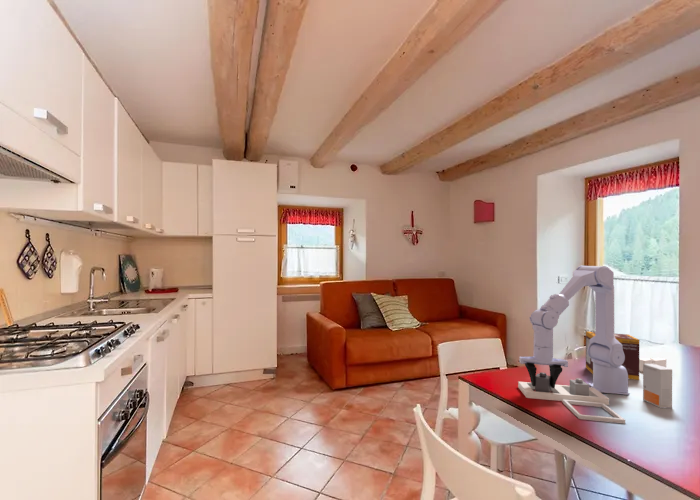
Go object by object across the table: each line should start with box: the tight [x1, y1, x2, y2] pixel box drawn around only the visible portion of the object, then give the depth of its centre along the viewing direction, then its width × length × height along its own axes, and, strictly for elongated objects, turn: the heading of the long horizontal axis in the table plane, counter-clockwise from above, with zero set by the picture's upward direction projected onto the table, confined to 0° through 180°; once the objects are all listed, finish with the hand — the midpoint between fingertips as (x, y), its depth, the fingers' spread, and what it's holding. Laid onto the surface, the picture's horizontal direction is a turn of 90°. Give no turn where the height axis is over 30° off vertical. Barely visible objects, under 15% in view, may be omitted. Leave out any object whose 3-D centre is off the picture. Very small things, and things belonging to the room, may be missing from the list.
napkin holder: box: [639, 357, 667, 373], centre depth 146 cm, size 15×11×6 cm
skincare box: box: [642, 364, 673, 409], centre depth 111 cm, size 6×4×12 cm
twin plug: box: [569, 377, 590, 396], centre depth 115 cm, size 4×4×6 cm
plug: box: [534, 372, 552, 393], centre depth 117 cm, size 4×4×6 cm
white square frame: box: [562, 399, 626, 424], centre depth 103 cm, size 12×12×1 cm
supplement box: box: [585, 330, 640, 381], centre depth 141 cm, size 10×15×16 cm
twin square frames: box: [517, 381, 610, 406], centre depth 116 cm, size 24×10×2 cm, turn 79°
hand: (543, 386), depth 117 cm, fingers closed on plug, 5 cm apart
